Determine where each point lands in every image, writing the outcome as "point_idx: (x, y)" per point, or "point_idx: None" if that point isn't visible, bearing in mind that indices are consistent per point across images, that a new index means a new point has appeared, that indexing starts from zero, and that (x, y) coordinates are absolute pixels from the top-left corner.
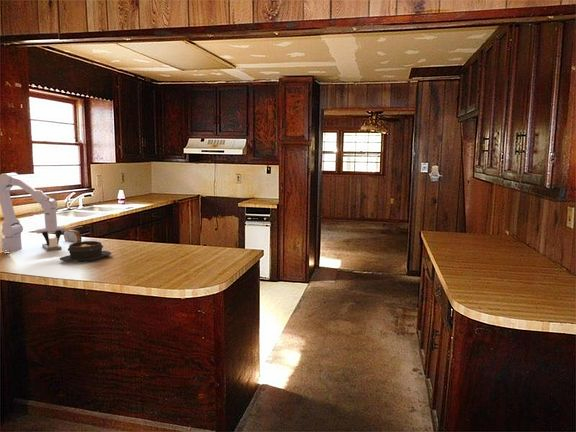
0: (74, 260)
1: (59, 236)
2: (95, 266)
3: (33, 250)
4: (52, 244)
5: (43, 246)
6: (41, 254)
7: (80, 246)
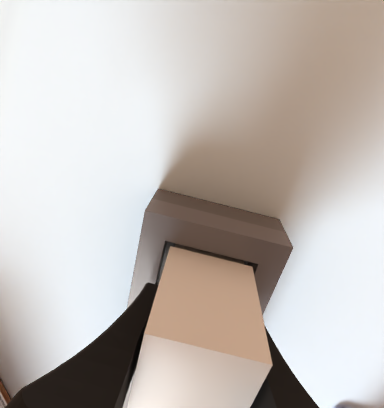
0: None
1: (92, 352)
2: None
3: None
4: (224, 280)
5: None
6: (321, 246)
7: None
